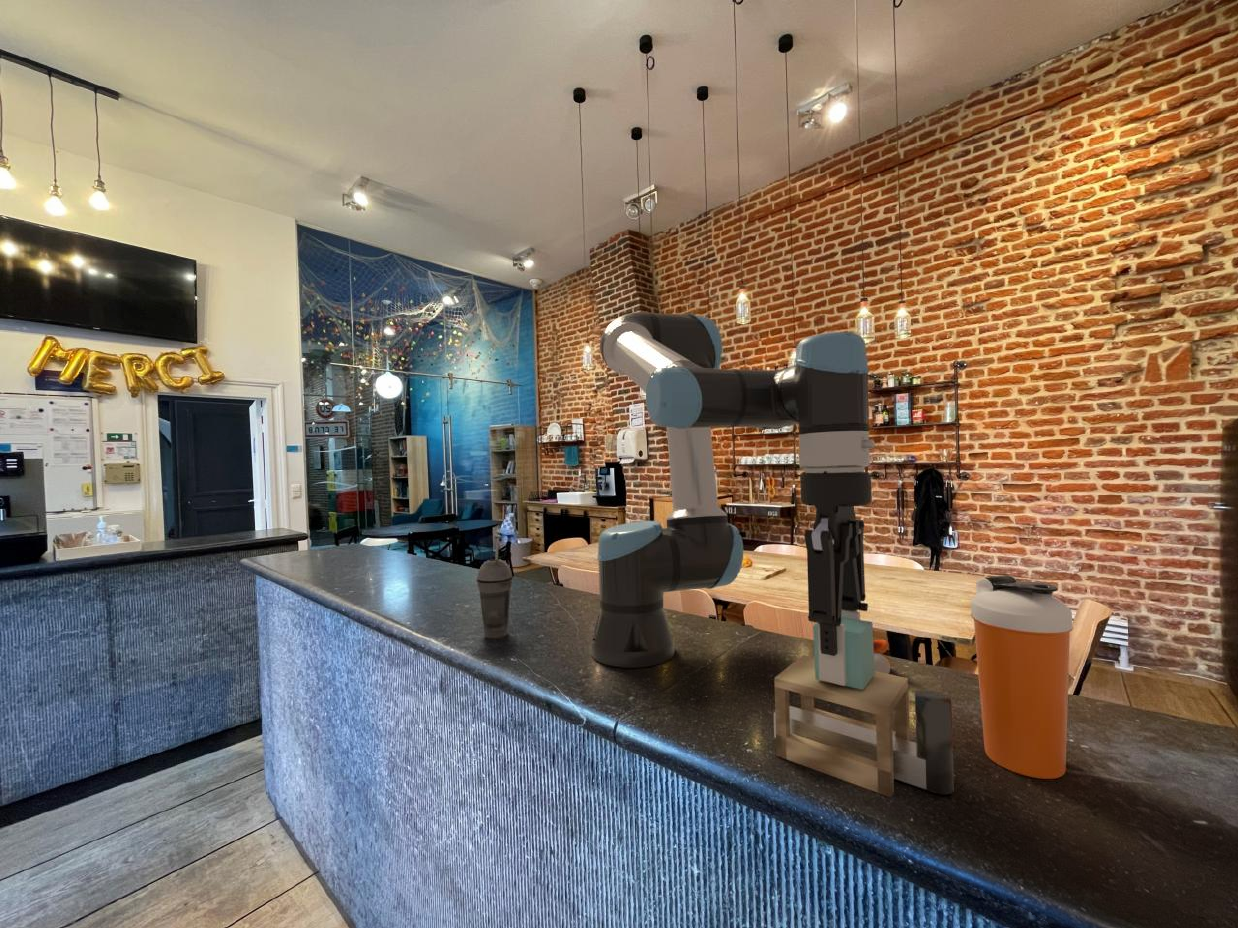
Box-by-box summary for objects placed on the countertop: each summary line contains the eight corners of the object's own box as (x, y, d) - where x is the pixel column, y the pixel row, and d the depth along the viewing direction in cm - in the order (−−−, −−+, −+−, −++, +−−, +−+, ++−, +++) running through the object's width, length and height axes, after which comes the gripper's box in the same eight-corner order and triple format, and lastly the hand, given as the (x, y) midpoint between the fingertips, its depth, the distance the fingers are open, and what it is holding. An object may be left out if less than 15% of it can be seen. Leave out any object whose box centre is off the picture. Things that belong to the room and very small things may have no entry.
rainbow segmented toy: (899, 684, 77) (897, 636, 77) (831, 680, 79) (829, 633, 79) (883, 663, 85) (882, 619, 85) (822, 659, 87) (820, 617, 87)
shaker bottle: (1047, 794, 51) (1041, 594, 51) (957, 750, 59) (952, 577, 59) (1095, 771, 54) (1089, 584, 55) (1004, 732, 63) (999, 569, 63)
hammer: (773, 737, 62) (771, 664, 62) (784, 727, 65) (782, 656, 65) (951, 798, 50) (948, 707, 50) (956, 782, 53) (953, 695, 53)
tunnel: (776, 755, 59) (774, 677, 59) (805, 724, 66) (803, 654, 66) (891, 797, 51) (888, 707, 51) (910, 757, 58) (907, 678, 58)
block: (815, 678, 58) (813, 625, 58) (829, 665, 62) (827, 615, 62) (862, 689, 55) (860, 633, 55) (874, 674, 58) (872, 621, 58)
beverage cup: (498, 626, 110) (495, 534, 110) (521, 632, 106) (519, 536, 106) (470, 636, 104) (467, 538, 104) (494, 643, 100) (491, 541, 100)
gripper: (843, 471, 49) (851, 712, 49) (889, 468, 63) (896, 657, 63) (770, 473, 54) (777, 692, 54) (827, 469, 68) (833, 644, 68)
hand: (841, 672), depth 58 cm, fingers closed on block, 5 cm apart
